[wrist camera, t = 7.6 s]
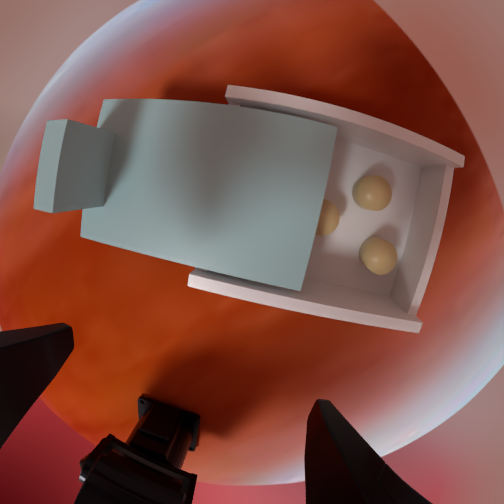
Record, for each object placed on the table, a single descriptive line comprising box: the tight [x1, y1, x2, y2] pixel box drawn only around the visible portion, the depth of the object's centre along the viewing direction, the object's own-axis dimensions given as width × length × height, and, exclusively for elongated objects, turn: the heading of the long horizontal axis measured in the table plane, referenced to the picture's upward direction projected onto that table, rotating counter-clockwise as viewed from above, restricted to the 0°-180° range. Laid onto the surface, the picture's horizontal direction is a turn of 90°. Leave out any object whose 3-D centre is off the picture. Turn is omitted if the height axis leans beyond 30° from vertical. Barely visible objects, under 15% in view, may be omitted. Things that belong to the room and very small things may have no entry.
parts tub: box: [188, 85, 465, 333], centre depth 16 cm, size 11×14×5 cm
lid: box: [34, 99, 338, 291], centre depth 12 cm, size 9×14×5 cm, turn 78°
